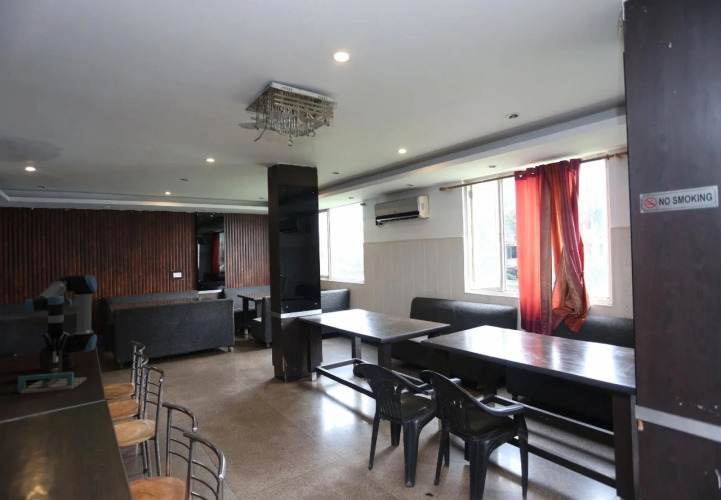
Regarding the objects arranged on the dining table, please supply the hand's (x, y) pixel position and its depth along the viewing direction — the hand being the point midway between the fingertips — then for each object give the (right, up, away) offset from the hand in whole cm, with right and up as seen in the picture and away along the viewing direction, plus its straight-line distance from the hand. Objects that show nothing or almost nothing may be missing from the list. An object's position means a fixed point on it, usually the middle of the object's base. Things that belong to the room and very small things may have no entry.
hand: (55, 361), depth 233 cm
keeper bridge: (-1, -14, -6) cm, 15 cm away
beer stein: (-19, -16, +18) cm, 30 cm away
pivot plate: (0, -15, 0) cm, 15 cm away
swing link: (-2, -12, -1) cm, 13 cm away
